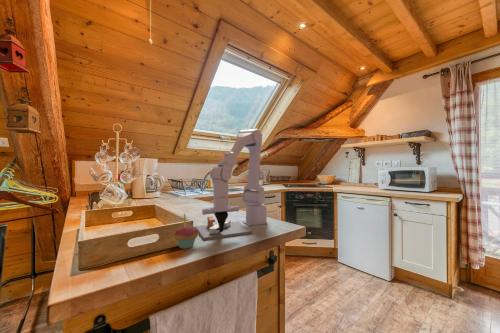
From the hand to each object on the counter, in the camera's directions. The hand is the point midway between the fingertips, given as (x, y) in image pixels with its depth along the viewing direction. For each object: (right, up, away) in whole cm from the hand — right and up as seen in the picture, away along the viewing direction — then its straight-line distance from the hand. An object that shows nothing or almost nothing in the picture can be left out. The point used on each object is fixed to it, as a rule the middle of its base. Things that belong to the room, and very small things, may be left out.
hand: (221, 231), depth 90 cm
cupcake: (-11, -2, -11) cm, 15 cm away
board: (0, -2, +6) cm, 7 cm away
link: (-1, -1, +5) cm, 6 cm away
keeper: (-5, -2, +9) cm, 10 cm away
